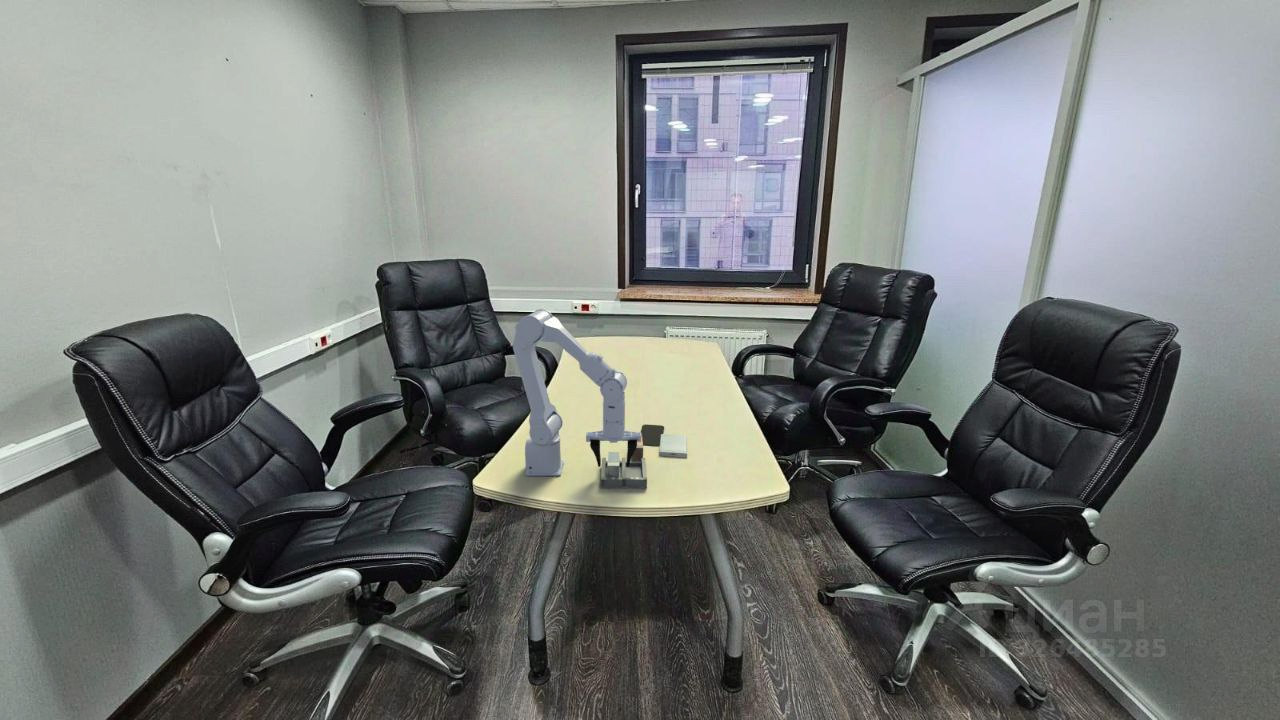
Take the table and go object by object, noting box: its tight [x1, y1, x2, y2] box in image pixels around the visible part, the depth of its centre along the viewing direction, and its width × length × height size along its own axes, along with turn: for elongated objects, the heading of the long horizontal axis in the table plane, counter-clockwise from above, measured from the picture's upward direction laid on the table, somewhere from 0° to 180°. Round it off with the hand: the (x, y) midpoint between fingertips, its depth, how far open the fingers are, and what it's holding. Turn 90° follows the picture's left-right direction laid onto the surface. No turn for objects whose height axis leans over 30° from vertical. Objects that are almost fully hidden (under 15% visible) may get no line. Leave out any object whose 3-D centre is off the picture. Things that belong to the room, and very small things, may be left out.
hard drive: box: [658, 433, 688, 458], centre depth 159 cm, size 2×8×12 cm
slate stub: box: [607, 451, 620, 478], centre depth 141 cm, size 3×8×5 cm, turn 2°
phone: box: [640, 424, 665, 447], centre depth 167 cm, size 7×1×15 cm
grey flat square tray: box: [600, 457, 648, 489], centre depth 141 cm, size 12×12×3 cm
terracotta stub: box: [631, 436, 644, 461], centre depth 153 cm, size 3×8×5 cm, turn 2°
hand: (613, 465), depth 141 cm, fingers open, 7 cm apart
